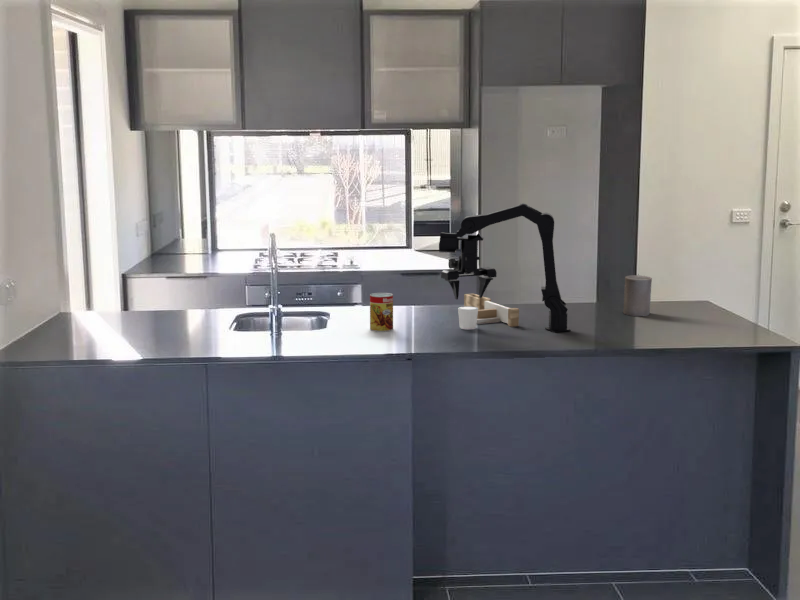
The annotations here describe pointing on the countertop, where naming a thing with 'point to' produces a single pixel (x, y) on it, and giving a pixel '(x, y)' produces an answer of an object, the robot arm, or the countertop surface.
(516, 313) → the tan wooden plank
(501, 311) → the sliding door
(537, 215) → the robot arm
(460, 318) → the white grey-rimmed cylinder
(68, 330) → the countertop surface
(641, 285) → the pillar candle
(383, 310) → the canned food
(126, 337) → the countertop surface
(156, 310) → the countertop surface
